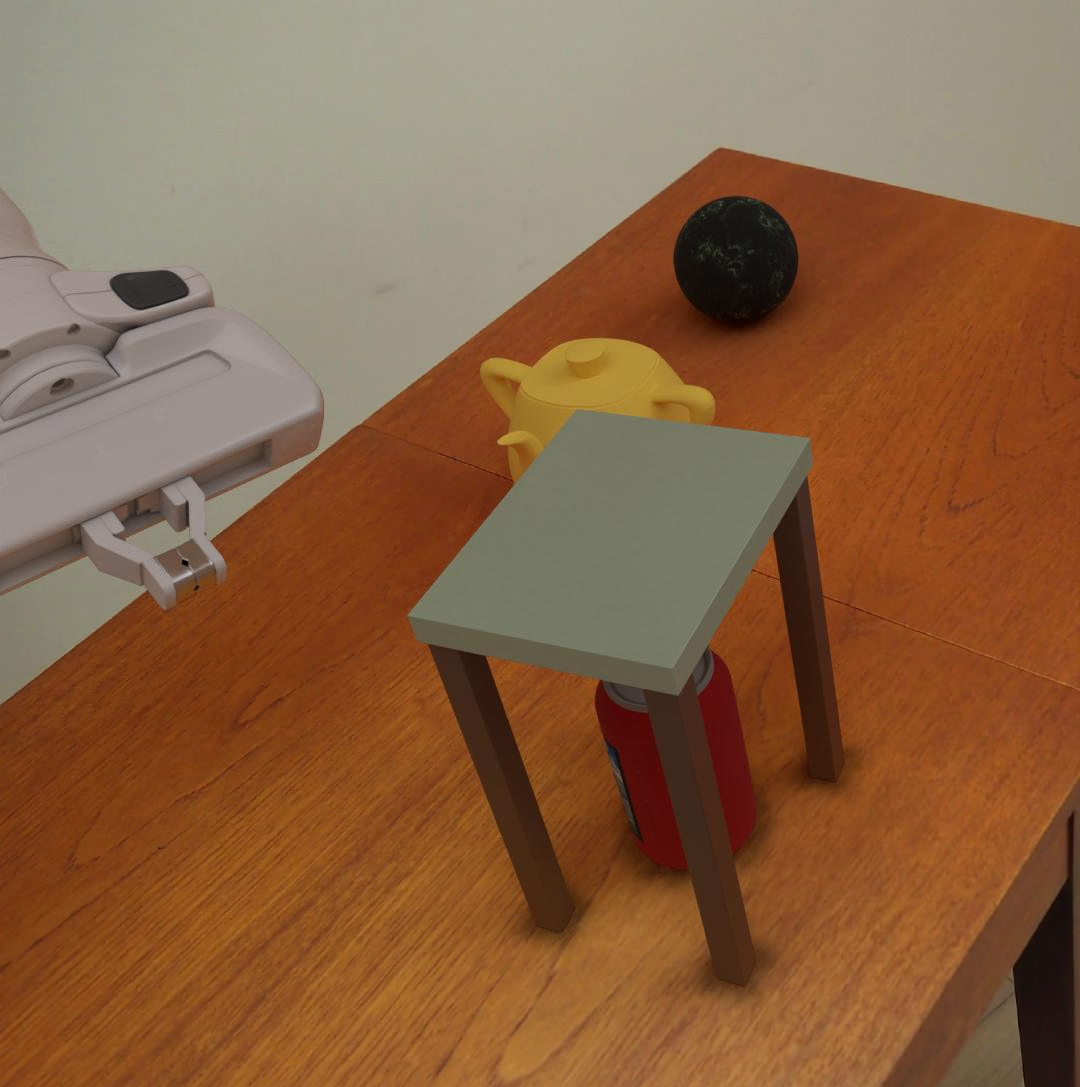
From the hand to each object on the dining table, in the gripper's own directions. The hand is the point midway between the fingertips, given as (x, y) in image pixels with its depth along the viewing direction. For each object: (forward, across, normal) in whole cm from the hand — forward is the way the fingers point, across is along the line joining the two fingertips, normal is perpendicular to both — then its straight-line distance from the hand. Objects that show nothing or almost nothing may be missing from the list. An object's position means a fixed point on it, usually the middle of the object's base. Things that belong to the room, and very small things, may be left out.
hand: (197, 588), depth 59 cm
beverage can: (+20, +17, +12) cm, 28 cm away
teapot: (-3, +33, +22) cm, 39 cm away
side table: (+20, +16, +11) cm, 28 cm away
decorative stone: (-13, +57, +23) cm, 63 cm away
